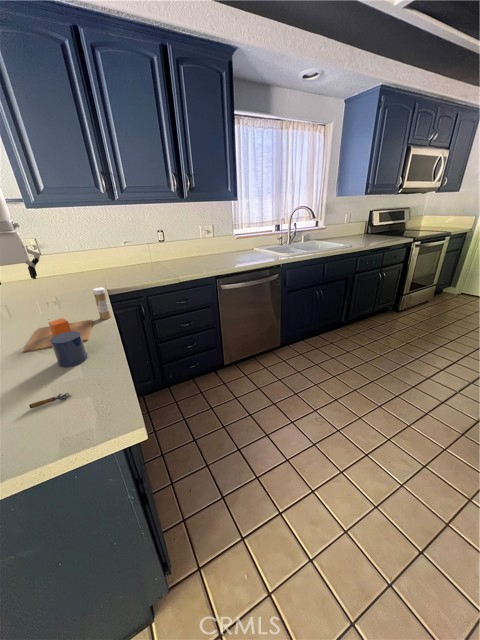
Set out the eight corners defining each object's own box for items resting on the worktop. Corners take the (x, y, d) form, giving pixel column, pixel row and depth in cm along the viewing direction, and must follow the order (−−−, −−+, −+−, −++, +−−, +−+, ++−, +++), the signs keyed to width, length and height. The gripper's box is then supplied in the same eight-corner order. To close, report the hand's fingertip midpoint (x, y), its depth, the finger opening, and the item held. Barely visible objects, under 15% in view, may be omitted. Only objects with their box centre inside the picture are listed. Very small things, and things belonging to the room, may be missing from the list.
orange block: (57, 337, 99) (53, 325, 97) (52, 334, 102) (48, 322, 100) (71, 332, 103) (67, 320, 101) (66, 329, 106) (62, 318, 104)
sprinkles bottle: (100, 316, 119) (93, 287, 113) (111, 315, 120) (104, 286, 114) (99, 320, 115) (91, 290, 109) (110, 318, 116) (103, 289, 110)
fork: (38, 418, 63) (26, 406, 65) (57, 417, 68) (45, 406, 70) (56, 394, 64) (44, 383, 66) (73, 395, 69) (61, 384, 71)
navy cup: (55, 370, 81) (46, 345, 77) (60, 356, 88) (52, 333, 84) (86, 363, 84) (78, 340, 80) (89, 351, 91) (82, 329, 87)
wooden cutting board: (23, 352, 91) (22, 351, 91) (38, 329, 108) (38, 328, 108) (88, 340, 98) (87, 339, 97) (93, 320, 115) (92, 319, 114)
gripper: (27, 225, 91) (42, 274, 97) (-43, 229, 78) (-20, 285, 85) (35, 226, 86) (50, 278, 93) (-37, 230, 74) (-14, 289, 81)
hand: (17, 281), depth 89 cm, fingers open, 9 cm apart
